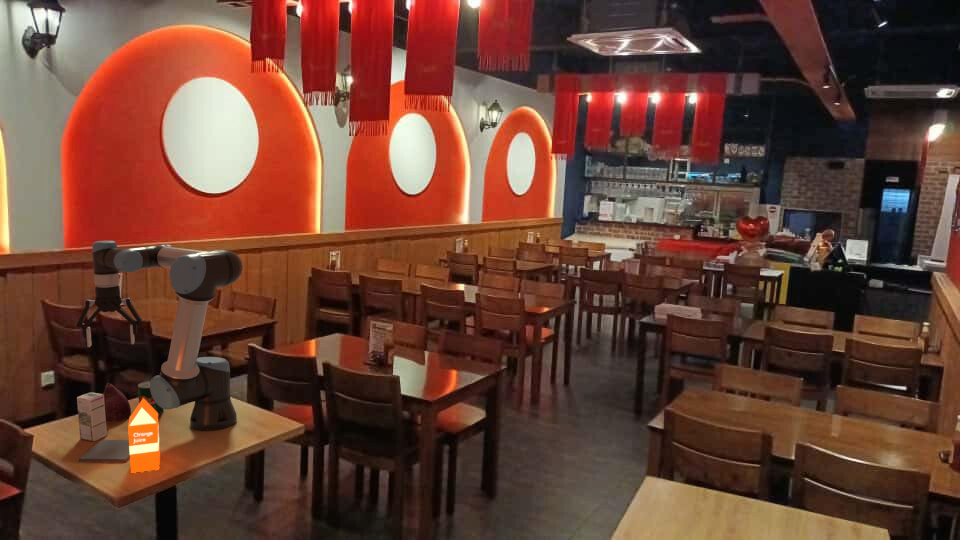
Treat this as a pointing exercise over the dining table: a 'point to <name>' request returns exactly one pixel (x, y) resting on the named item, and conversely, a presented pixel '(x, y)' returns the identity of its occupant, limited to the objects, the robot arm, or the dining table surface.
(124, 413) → the vegetable
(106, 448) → the mat
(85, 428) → the syrup box
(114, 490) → the dining table surface
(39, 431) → the dining table surface
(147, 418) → the orange juice
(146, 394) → the canned tomato
